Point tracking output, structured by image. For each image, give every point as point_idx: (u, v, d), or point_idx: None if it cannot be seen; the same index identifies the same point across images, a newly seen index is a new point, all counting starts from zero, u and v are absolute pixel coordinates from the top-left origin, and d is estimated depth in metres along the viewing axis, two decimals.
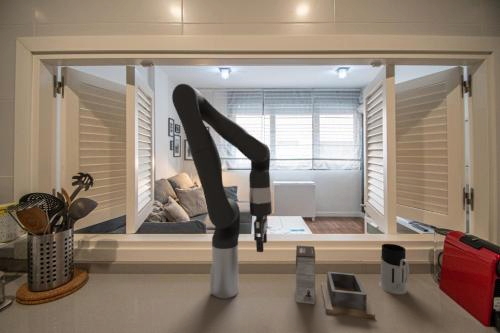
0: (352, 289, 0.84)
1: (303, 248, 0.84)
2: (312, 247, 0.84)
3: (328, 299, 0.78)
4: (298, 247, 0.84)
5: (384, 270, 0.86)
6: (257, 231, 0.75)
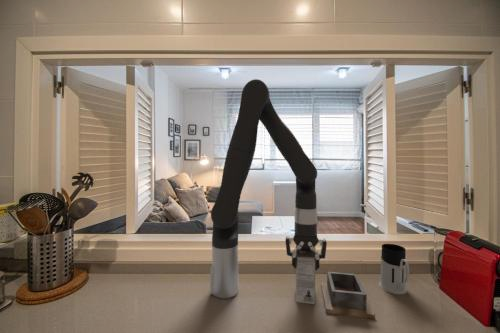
0: (352, 289, 0.84)
1: None
2: None
3: (328, 299, 0.78)
4: None
5: (384, 270, 0.86)
6: (325, 248, 0.80)
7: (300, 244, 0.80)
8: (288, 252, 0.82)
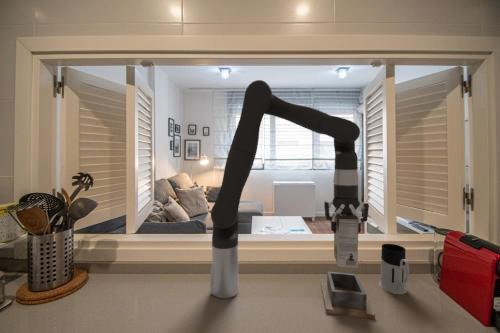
0: (352, 289, 0.84)
1: None
2: None
3: (328, 299, 0.78)
4: None
5: (384, 270, 0.86)
6: None
7: (341, 207, 0.77)
8: (327, 216, 0.79)
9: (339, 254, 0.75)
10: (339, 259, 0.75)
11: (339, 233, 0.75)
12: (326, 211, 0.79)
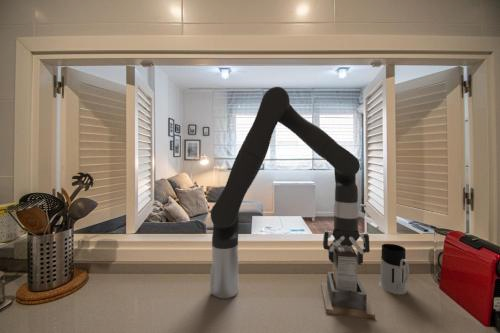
0: None
1: (341, 247, 0.81)
2: (350, 246, 0.82)
3: (328, 299, 0.78)
4: None
5: (384, 270, 0.86)
6: None
7: (340, 239, 0.77)
8: (325, 246, 0.79)
9: None
10: None
11: (338, 270, 0.76)
12: (325, 241, 0.79)
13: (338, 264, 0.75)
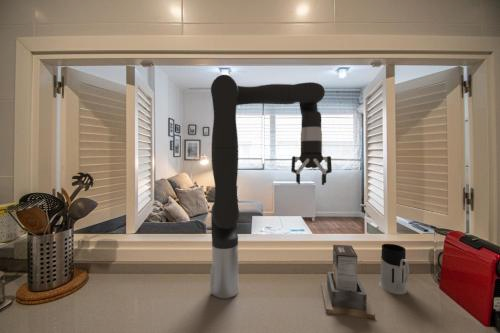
0: None
1: (341, 247, 0.81)
2: (350, 246, 0.82)
3: (328, 299, 0.78)
4: (336, 246, 0.82)
5: (384, 270, 0.86)
6: (330, 164, 0.86)
7: (306, 161, 0.86)
8: (293, 169, 0.87)
9: None
10: None
11: (338, 270, 0.76)
12: (292, 164, 0.87)
13: (338, 264, 0.75)
